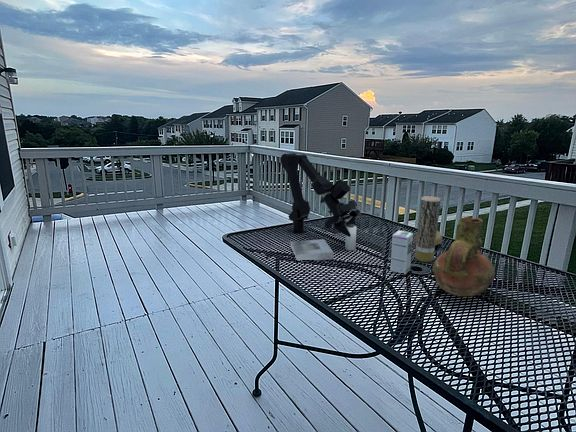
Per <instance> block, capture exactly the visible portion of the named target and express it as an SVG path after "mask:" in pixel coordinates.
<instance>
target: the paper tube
mask: <svg viewBox="0 0 576 432" xmlns="http://www.w3.org/2000/svg"><path fill="white" fill-rule="evenodd" d="M441 200H442V199H441V197H438V196H431V195H430V196H429V195H424V196H421V198H420V203H419V205H420V207H419V215H418V216H419V217H418V223H417V232H416V234H417V242H416V243H415V253H414V258H415V259H416V260H418V261H420V262H424V263H430V262H432V261H433V260H434V255H435V249H436V245H435V241H436V233H437V231H438V226H439V225H438V224H439V215H440V210H441V209H440V208H441V202H442V201H441Z"/></svg>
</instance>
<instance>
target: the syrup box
mask: <svg viewBox="0 0 576 432" xmlns="http://www.w3.org/2000/svg"><path fill="white" fill-rule="evenodd" d="M413 240H414V233H413V232H411V231H406V230H399V229H398V230H397V231H396V232H394V233H393V234H392V241H391V255H390V269H389V270H390V272H394V273H397V272H399V273H398V274H401V273H404V274H403V275H406V274H407V273H408V272H409V271H410V270H411V265H412V264H411V263H412V257H413V256H412V255H413V244H414V241H413Z"/></svg>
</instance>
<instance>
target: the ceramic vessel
mask: <svg viewBox="0 0 576 432" xmlns="http://www.w3.org/2000/svg"><path fill="white" fill-rule="evenodd" d="M483 222H484V221H483V219H482V218H480V217H466V216H465V217H464V216H463V218H462V217H460V218H459V219H458V222H457V225H456V229H455V230H456V231H455V237H454V241H453V242H452V243H451V244H450V246H449V248H448V250H447V251H445V252H442V254H440V255H439V256H437V258H436V259H435V261H434V262H433V264H432V272H433V273H434V277H435V281H436V283H437V285H438V286H439V288H440V289H441V290H442V291H445V292H446V293H448V294H451V295H453V296H458V297H472V296H474V297H475V296H478V295H480V294H482V293H484V292H485V291H486V290H487V289H488V288H489V287H490V285H491V283H493V281H494V279H495V275H496V273H495V271H496V270H495V267H494V264H493V262H492V261H491V260H490V258H488V257H487V256H486V255H483V254H482V252H481V249H482V245H483V241H482V239H481V235H482V231H483V230H482V228H483V224H484V223H483Z"/></svg>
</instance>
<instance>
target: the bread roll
mask: <svg viewBox="0 0 576 432" xmlns="http://www.w3.org/2000/svg"><path fill="white" fill-rule="evenodd" d="M416 242H417V233H416V234H415V237H414V243H415V244H416ZM441 242H443V235H442V234H441V233H440V231H439V230H437V233H436V241H435V246H437V245H438V246H439V244H441Z"/></svg>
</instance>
